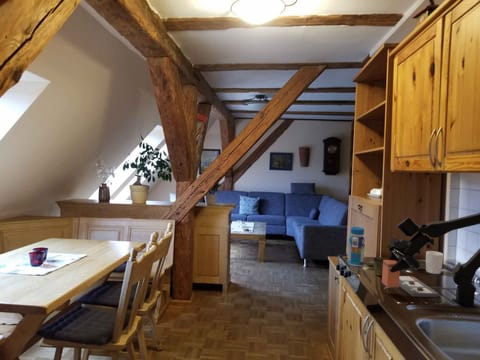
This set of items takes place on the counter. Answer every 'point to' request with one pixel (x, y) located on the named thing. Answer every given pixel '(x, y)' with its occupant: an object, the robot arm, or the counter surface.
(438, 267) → the white cup
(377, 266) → the cup
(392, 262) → the block
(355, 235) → the beverage bottle
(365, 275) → the counter surface
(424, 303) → the counter surface
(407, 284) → the breaker panel
